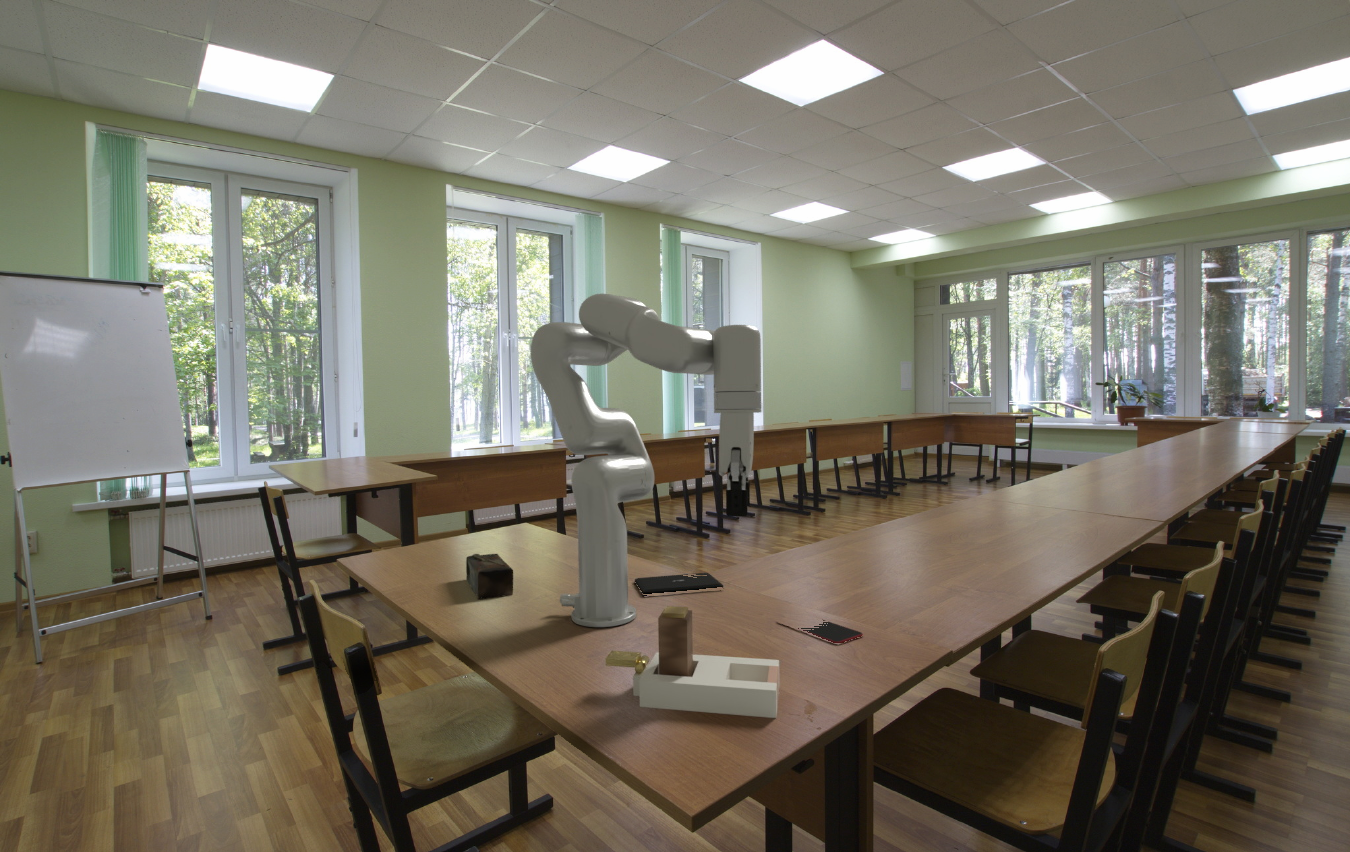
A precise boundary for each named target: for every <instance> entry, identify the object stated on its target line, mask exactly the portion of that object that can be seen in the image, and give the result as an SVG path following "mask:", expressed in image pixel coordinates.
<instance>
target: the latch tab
mask: <svg viewBox="0 0 1350 852" xmlns="http://www.w3.org/2000/svg"><path fill="white" fill-rule="evenodd" d="M649 663H650V657H649V656H648V655H646V654H645V655H642V652H640V651H639V652H638V651H627V650H625V651H624V650H611V651H610V652H609V654H608V655H607V656H606V658H605V666H608V667H619V668H634V671H635V672H636V673H638V674H641V673H642V672H643V671H644V669H645V667H646V666H647V665H649ZM635 672H634V673H635Z"/></svg>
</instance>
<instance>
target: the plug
mask: <svg viewBox="0 0 1350 852" xmlns="http://www.w3.org/2000/svg"><path fill="white" fill-rule="evenodd" d="M657 621H658V625H657V627H658V628H657V629H658V652H659V675H671V676H685V677H692V676H693V654H694V653H693V652H694V651H693V647H694V646H693V644H694V643H693V641H694V640H693V639H694V638H693V610H691V609H689V607H688V606H673V605H672V606H671V605H667V606H666V607H665V608H663V611H662V612H661V613H660V615H659V616H658V618H657Z"/></svg>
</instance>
